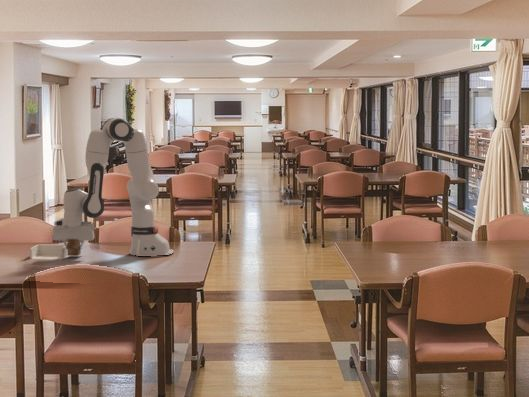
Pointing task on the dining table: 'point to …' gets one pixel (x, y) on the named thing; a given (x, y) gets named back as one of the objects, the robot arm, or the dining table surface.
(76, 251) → the block
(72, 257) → the coaster
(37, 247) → the box
